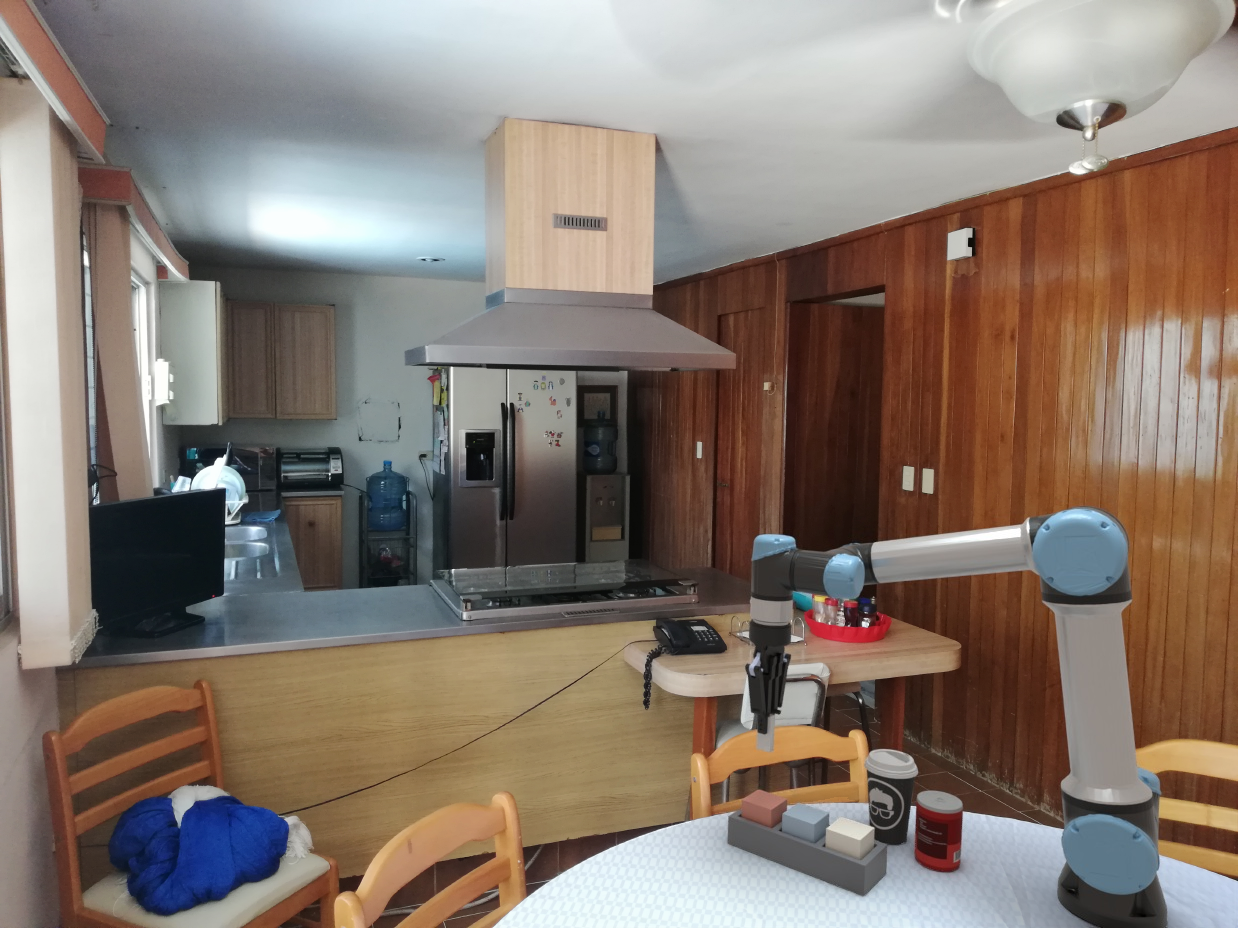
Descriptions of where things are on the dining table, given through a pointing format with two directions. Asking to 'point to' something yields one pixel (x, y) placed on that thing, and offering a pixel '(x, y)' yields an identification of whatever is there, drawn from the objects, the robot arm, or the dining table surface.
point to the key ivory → (850, 838)
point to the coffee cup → (890, 794)
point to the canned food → (938, 830)
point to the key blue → (805, 822)
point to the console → (809, 855)
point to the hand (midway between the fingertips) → (764, 749)
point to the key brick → (764, 808)
